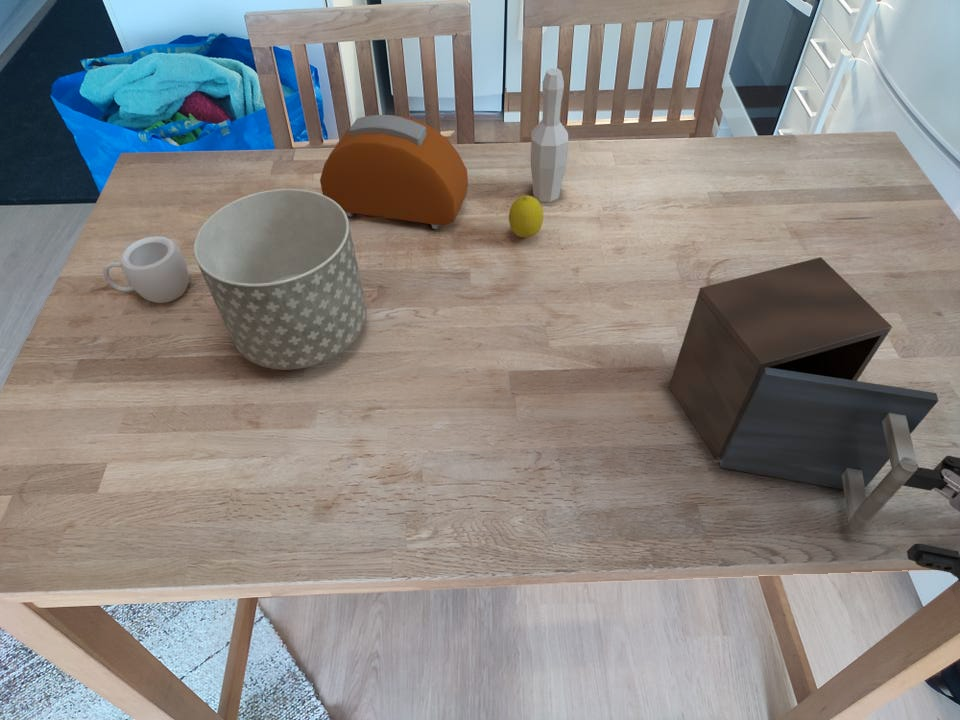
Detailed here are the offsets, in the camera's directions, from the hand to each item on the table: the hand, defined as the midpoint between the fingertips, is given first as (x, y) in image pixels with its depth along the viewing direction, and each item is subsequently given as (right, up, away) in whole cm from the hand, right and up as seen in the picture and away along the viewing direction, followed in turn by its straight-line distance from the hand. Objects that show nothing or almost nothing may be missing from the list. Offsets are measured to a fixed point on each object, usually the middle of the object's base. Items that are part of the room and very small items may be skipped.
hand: (903, 511), depth 65 cm
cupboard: (-8, +9, +20) cm, 23 cm away
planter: (-68, +19, +30) cm, 76 cm away
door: (-6, -1, +11) cm, 12 cm away
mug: (-92, +25, +36) cm, 102 cm away
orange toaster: (-56, +41, +49) cm, 85 cm away
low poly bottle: (-30, +44, +51) cm, 74 cm away
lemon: (-35, +35, +43) cm, 66 cm away
